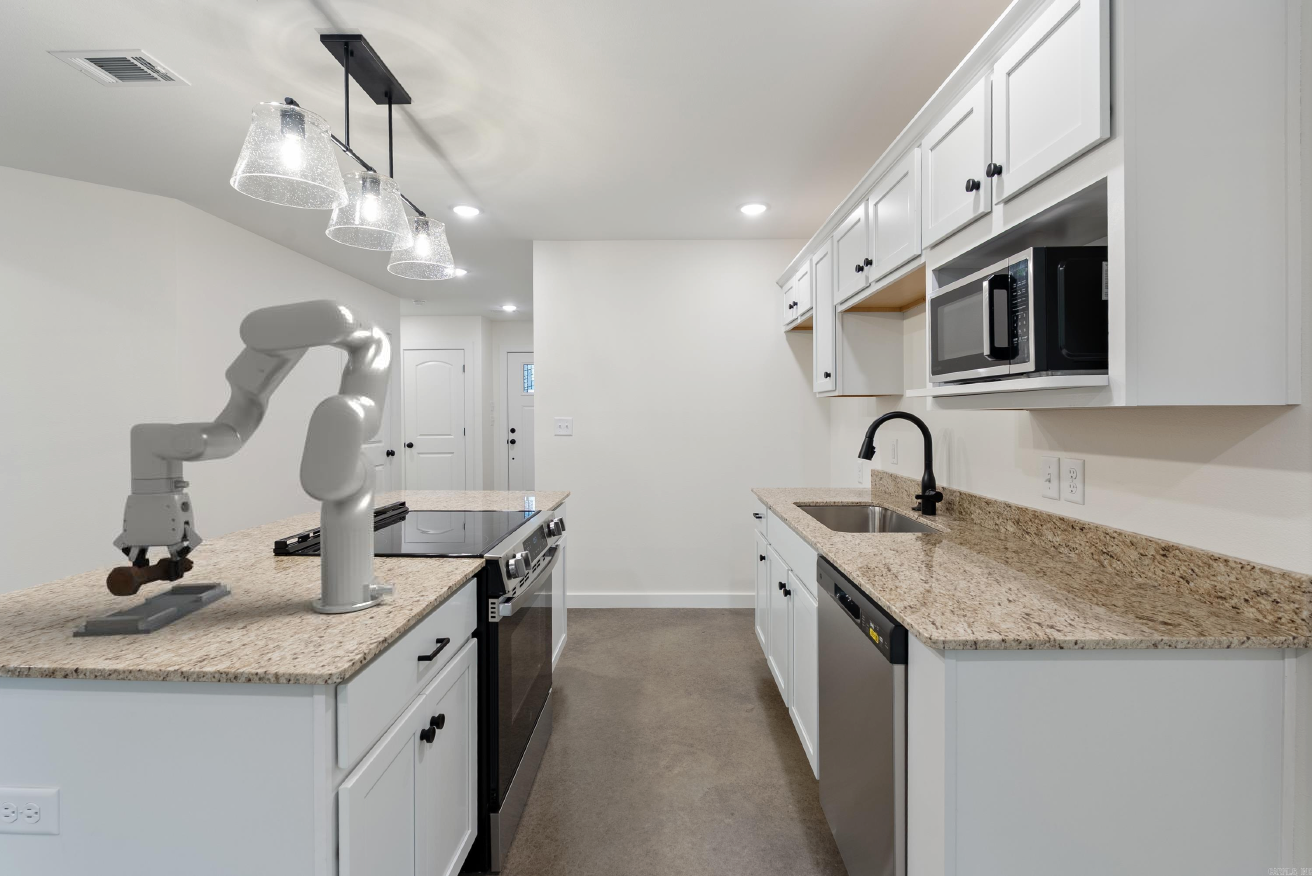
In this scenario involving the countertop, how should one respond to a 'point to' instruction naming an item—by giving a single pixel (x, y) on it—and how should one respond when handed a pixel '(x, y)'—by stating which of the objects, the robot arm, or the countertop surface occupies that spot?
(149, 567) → the bolt
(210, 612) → the countertop surface
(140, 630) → the grey stepped tray
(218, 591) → the grey shallow tray
